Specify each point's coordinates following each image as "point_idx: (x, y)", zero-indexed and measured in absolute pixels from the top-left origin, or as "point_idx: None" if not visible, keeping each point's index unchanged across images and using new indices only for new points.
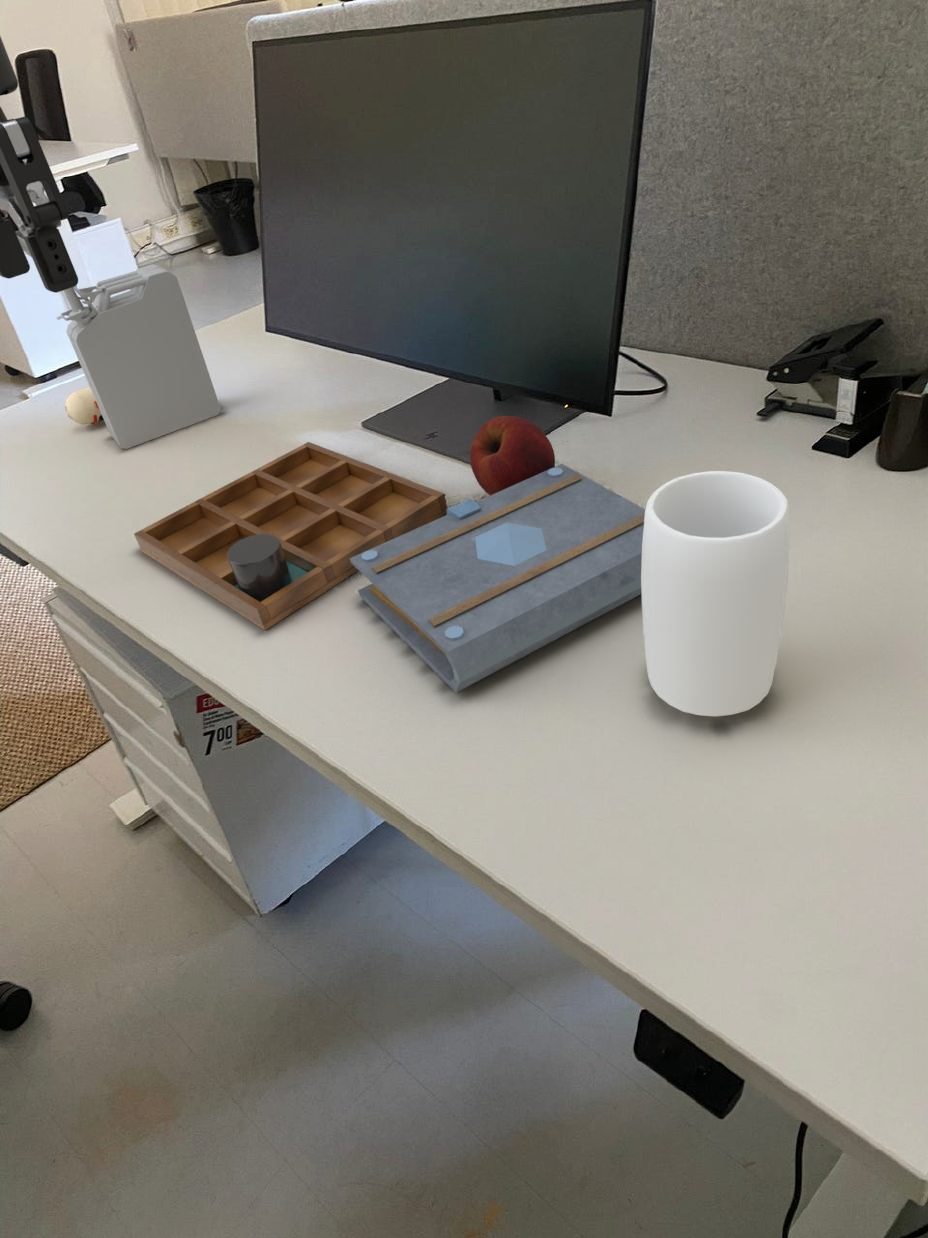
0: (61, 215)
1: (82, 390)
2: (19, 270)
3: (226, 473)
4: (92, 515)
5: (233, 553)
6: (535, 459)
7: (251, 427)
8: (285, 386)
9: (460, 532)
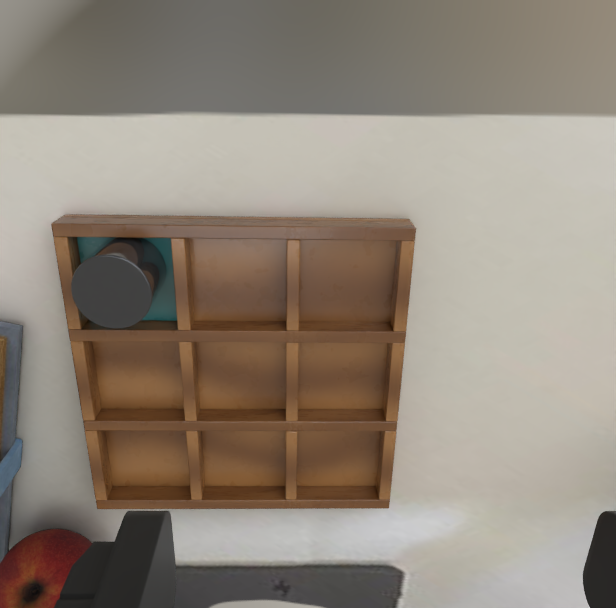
0: None
1: None
2: (596, 566)
3: (480, 408)
4: (596, 229)
5: (125, 269)
6: None
7: (560, 499)
8: None
9: None
